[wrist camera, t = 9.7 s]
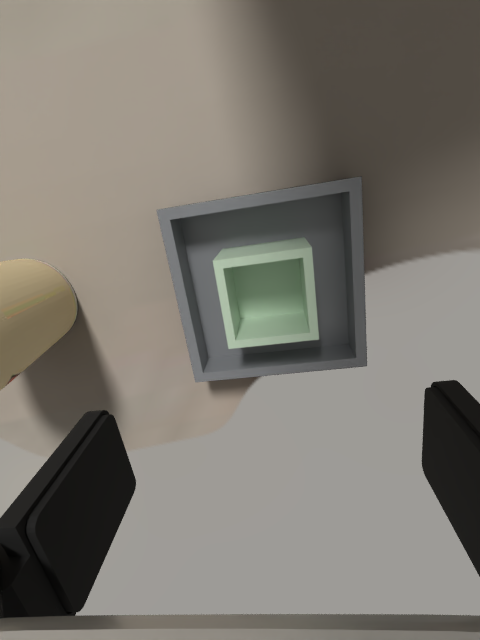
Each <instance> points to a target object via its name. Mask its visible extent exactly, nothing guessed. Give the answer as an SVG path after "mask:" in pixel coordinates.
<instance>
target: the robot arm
mask: <svg viewBox="0 0 480 640" xmlns="http://www.w3.org/2000/svg"><path fill="white" fill-rule="evenodd" d="M422 449H423V450H422V467H423V471H424V474H425V476H426V478H427V480H428V482H429V484H430V485H431V487H432V489H433V491H434V493H435V495H436V497H437V499H438V500H439V502H440V504H441V506H442V508H443V510H444V511H445V513H446V515H447V517H448V519H449V521H450V522H451V524H452V526H453V528H454V530H455V532H456V533H457V536H458V537H459V539H460V541H461V543H462V545H463V547H464V548H465V550H466V552H467V554H468V556H469V558H470V560H471V561H472V563H473V565H474V567H475V569H476V571H477V573H478V574H479V576H480V404H479V403H478V402H477V401H476V400H475V398H474V397H473V396H472V395H471V394H470V393H468V391H467V390H466V389H465V388H464V387H463V386H462V385H461V384H460V383H459V382H458V381H455V380H451V381H439V382H433V383H432V385H431V387H430V388H426V389H425V400H424V424H423V447H422ZM135 486H136V480H135V476H134V474H133V470H132V467H131V464H130V462H129V459H128V456H127V453H126V450H125V447H124V444H123V441H122V438H121V435H120V432H119V429H118V426H117V423H116V420H115V418H114V416H113V415H111V414H109V413H108V412H107V411H106V410H102V411H90V412H87V413H85V414H84V416H83V417H82V418H81V419H80V420H79V422H78V423H77V424H76V425H75V427H74V428H73V429H72V430H71V432H70V433H69V434H68V435H67V437H66V438H65V439H64V440H63V441H62V443H61V444H60V445H59V446H58V448H57V449H56V450H55V451H54V453H53V454H52V455H51V456H50V458H49V459H48V460H47V461H46V462H45V464H44V465H43V466H42V467H41V469H40V470H39V471H38V472H37V474H36V475H35V476H34V477H33V478H32V480H31V481H30V482H29V483H28V485H27V486H26V487H25V488H24V490H23V491H22V492H21V493H20V495H19V496H18V497H17V498H16V499H15V501H14V502H13V503H12V504H11V506H10V507H9V508H8V509H7V511H6V512H5V513H4V514H3V516H2V517H1V518H0V640H480V616H471V615H394V614H393V615H391V614H390V615H389V614H387V615H386V614H385V615H381V614H379V615H378V614H376V615H375V614H373V615H372V614H371V615H369V614H356V615H355V614H343V615H342V614H257V615H256V614H254V615H253V614H250V615H249V614H247V615H246V614H245V615H243V614H232V615H107V616H105V615H104V616H75V614H76V612H79V611H80V610H81V609H82V608H83V606H84V604H85V602H86V600H87V598H88V596H89V593H90V591H91V589H92V586H93V584H94V582H95V580H96V577H97V575H98V573H99V571H100V568H101V566H102V564H103V562H104V559H105V557H106V555H107V553H108V550H109V548H110V546H111V543H112V541H113V539H114V537H115V534H116V532H117V530H118V527H119V525H120V523H121V521H122V519H123V516H124V514H125V512H126V509H127V507H128V505H129V503H130V500H131V498H132V496H133V494H134V491H135Z"/></svg>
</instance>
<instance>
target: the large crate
mask: <svg viewBox="0 0 480 640" xmlns="http://www.w3.org/2000/svg"><path fill="white" fill-rule="evenodd" d="M157 214H158V219H159V223H160V228H161V232H162V237H163V241H164V245H165V250H166V254H167V259H168V263H169V268H170V272H171V276H172V281H173V285H174V290H175V294H176V298H177V303H178V307H179V312H180V316H181V321H182V325H183V329H184V334H185V338H186V343H187V347H188V351H189V356H190V360H191V365H192V369H193V374H194V378H195V382H204V381H215V380H226V379H236V378H247V377H257V376H267V375H279V374H289V373H300V372H309V371H321V370H331V369H342V368H352V367H363V366H367V347H366V315H365V314H366V313H365V278H364V243H363V209H362V176H361V177H354V178H348V179H342V180H336V181H330V182H324V183H317V184H311V185H305V186H299V187H293V188H287V189H281V190H275V191H268V192H262V193H256V194H250V195H244V196H238V197H232V198H226V199H219V200H213V201H207V202H201V203H195V204H189V205H183V206H177V207H171V208H165V209H159V210H157ZM302 237H305V239H306V240H307V241H308V243H309V244H310V245H311V247H312V256H313V269H314V281H315V294H316V306H317V319H318V331H319V340H310V341H300V342H291V343H281V344H272V345H262V346H253V347H243V348H234V349H228V343H227V338H226V332H225V327H224V321H223V315H222V310H221V304H220V299H219V293H218V288H217V282H216V277H215V271H214V266H213V260H214V259H215V257H216V256H217V255H218V254H219V252H220V251H221V250H222V249H225V248H232V247H239V246H246V245H253V244H260V243H267V242H274V241H281V240H288V239H295V238H302Z"/></svg>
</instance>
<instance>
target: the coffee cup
mask: <svg viewBox="0 0 480 640" xmlns="http://www.w3.org/2000/svg"><path fill="white" fill-rule="evenodd" d="M77 309H78V306H77V299H76V295H75V293H74V290H73V288H72V286H71V284H70V283H69V282H68V280H67V279H66V278H65V276H64V275H63V274H62V273H61V272H59V271H58V270H57V269H56V268H54V267H53V266H51V265H49V264H47V263H45V262H42V261H39V260H35V259H16V260H9V261H3V262H0V390H1V389H3V388H4V387H5V386H6V385H7V384H9V383H10V382H11V381H12V380H13V379H14V378H16V377H17V376H18V375H19V374H20V373H21V372H23V371H24V370H25V369H26V368H27V367H28V366H29V365H31V364H32V363H33V362H34V361H35V360H36V359H38V358H39V357H40V356H41V355H42V354H43V353H44V352H46V351H47V350H48V349H49V348H50V347H51V346H52V345H54V344H55V343H56V342H57V341H58V340H59V339H60V338H62V337H63V336H64V335H65V334H66V333H67V332H68V331H69V330H70V329H71V327H72V326H73V324H74V322H75V320H76V316H77Z"/></svg>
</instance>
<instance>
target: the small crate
mask: <svg viewBox="0 0 480 640" xmlns="http://www.w3.org/2000/svg"><path fill="white" fill-rule="evenodd" d="M213 266H214V271H215V277H216V282H217V288H218V293H219V299H220V304H221V310H222V315H223V321H224V327H225V332H226V338H227V343H228V349H234V348H243V347H253V346H262V345H272V344H281V343H291V342H300V341H310V340H319V331H318V319H317V306H316V294H315V281H314V269H313V256H312V247H311V245H310V244H309V243H308V241H307V240H306V239H305V237H302V238H295V239H288V240H281V241H274V242H267V243H260V244H253V245H246V246H239V247H232V248H225V249H222V250H221V251H220V252H219V254H218V255H217V256H216V257H215V259H214V260H213Z"/></svg>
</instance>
